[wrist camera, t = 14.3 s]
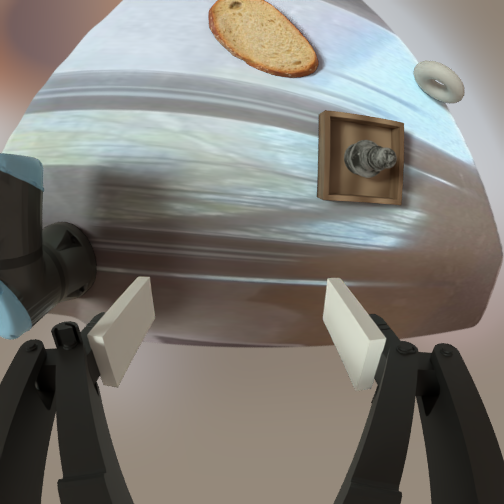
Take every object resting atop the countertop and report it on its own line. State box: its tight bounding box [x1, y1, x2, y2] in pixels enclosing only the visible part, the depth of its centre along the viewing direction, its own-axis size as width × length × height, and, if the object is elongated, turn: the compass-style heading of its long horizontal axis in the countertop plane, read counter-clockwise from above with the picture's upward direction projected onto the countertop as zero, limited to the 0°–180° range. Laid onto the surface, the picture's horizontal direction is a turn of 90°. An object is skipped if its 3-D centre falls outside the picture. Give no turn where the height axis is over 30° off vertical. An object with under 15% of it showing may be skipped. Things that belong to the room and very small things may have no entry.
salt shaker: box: [344, 140, 397, 178], centre depth 37 cm, size 6×6×12 cm
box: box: [317, 110, 404, 205], centre depth 41 cm, size 14×14×4 cm
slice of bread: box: [209, 0, 318, 78], centre depth 35 cm, size 18×18×4 cm
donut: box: [414, 61, 464, 103], centre depth 34 cm, size 10×4×10 cm, turn 63°
